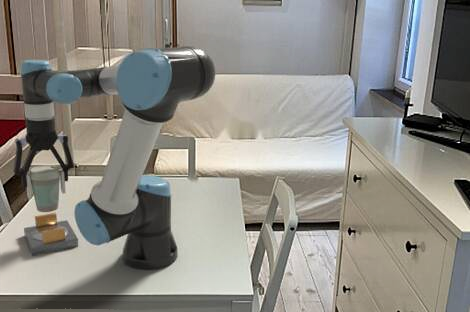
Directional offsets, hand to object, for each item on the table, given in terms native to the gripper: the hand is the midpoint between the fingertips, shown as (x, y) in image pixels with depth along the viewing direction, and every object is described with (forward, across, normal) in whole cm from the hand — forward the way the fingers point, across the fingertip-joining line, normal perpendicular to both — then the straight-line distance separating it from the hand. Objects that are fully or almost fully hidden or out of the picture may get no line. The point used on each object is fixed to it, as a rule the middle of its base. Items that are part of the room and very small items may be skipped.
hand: (46, 194), depth 148 cm
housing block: (+15, 0, 0) cm, 15 cm away
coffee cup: (+5, 0, 0) cm, 5 cm away
